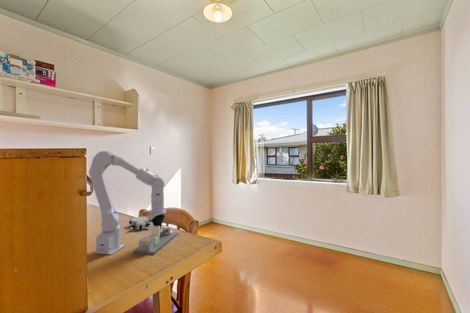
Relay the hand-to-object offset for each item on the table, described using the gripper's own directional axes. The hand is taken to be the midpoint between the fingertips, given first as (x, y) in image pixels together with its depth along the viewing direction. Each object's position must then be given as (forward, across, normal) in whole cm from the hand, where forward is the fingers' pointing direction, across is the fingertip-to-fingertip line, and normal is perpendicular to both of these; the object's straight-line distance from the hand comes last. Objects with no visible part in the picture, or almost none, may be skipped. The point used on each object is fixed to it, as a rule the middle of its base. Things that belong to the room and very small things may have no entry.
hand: (157, 230), depth 108 cm
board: (+6, 0, 0) cm, 6 cm away
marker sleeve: (+5, -4, 0) cm, 6 cm away
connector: (+5, -9, 0) cm, 10 cm away
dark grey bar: (+3, 0, 0) cm, 4 cm away
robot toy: (+6, +20, +22) cm, 30 cm away
